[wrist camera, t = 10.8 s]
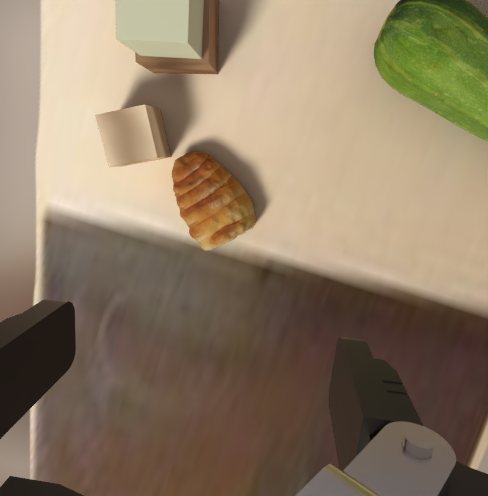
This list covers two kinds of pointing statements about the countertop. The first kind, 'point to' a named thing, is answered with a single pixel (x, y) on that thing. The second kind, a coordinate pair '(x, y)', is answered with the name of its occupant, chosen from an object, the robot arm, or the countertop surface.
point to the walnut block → (186, 64)
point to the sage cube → (161, 27)
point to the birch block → (133, 135)
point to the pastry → (211, 200)
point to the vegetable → (438, 59)
